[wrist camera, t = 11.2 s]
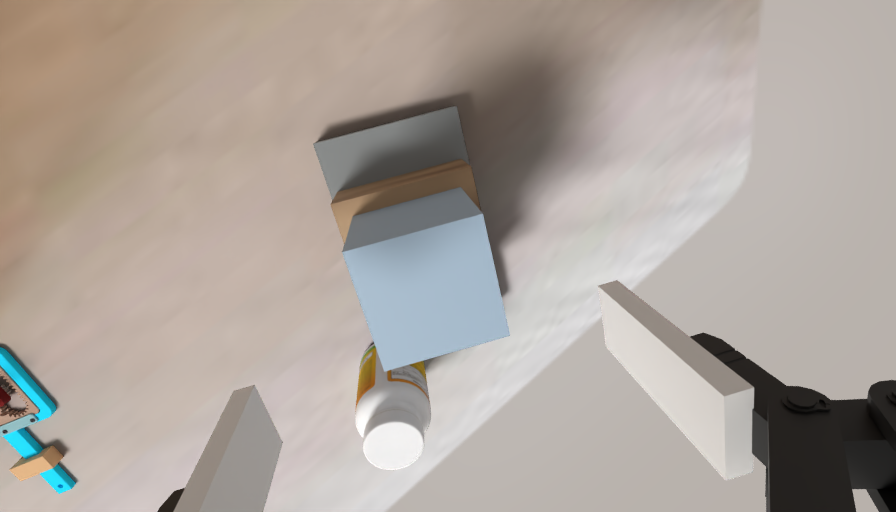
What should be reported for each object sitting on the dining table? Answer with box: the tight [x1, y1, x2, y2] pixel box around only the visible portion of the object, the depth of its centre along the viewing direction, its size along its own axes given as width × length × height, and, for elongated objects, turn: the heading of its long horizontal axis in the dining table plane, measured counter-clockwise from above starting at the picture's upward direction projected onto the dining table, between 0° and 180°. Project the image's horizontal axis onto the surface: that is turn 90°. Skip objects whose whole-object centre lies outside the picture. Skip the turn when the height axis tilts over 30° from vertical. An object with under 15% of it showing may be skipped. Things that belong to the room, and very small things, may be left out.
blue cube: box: [342, 187, 510, 372], centre depth 26 cm, size 7×7×7 cm
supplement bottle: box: [355, 344, 431, 470], centre depth 34 cm, size 5×5×10 cm
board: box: [313, 106, 470, 200], centre depth 34 cm, size 16×10×2 cm, turn 14°
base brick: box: [331, 159, 481, 244], centre depth 31 cm, size 9×9×4 cm
